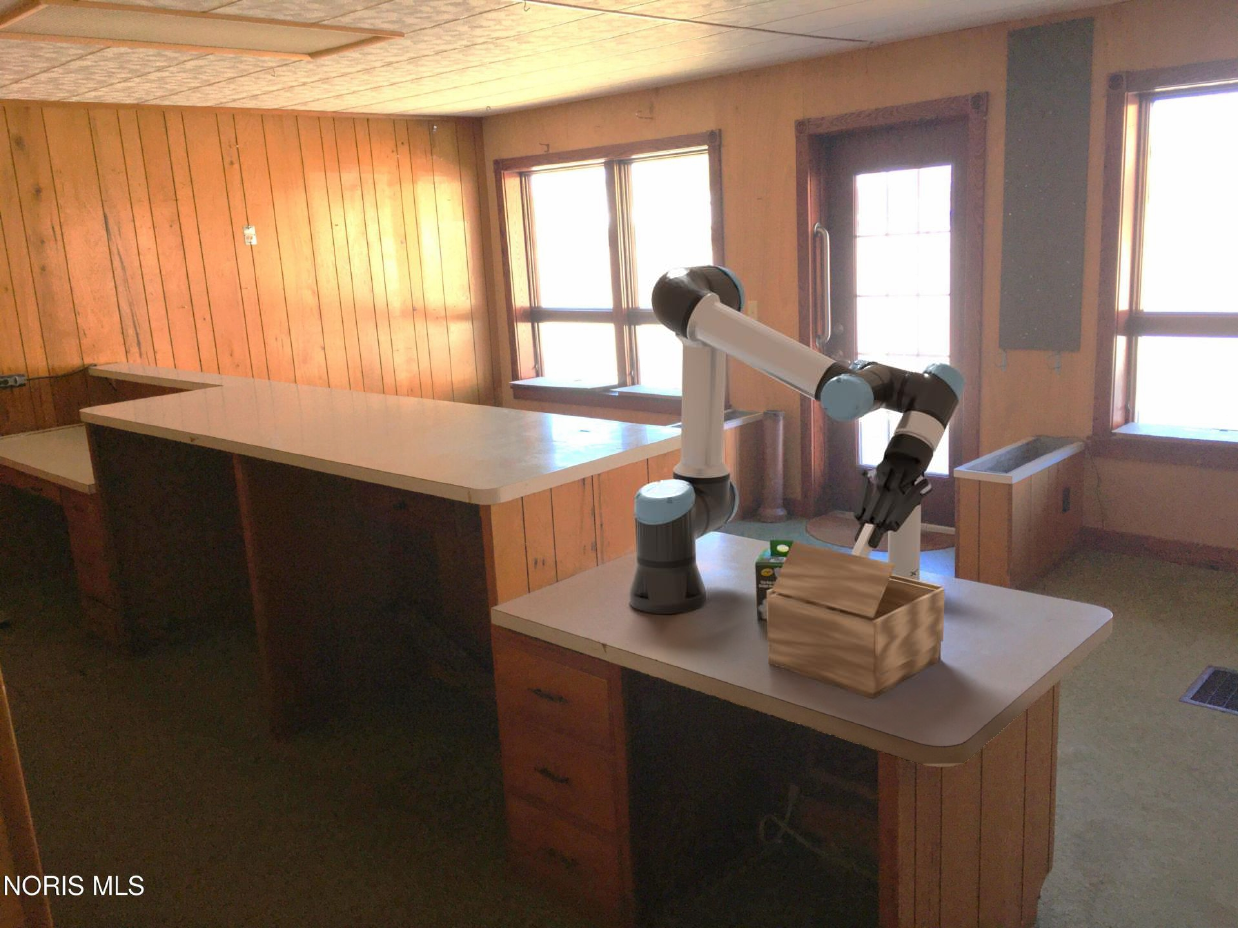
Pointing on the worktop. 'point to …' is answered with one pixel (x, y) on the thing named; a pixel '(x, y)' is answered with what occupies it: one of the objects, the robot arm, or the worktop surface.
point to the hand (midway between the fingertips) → (856, 561)
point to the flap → (834, 578)
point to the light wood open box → (859, 637)
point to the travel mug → (906, 546)
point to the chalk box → (769, 572)
